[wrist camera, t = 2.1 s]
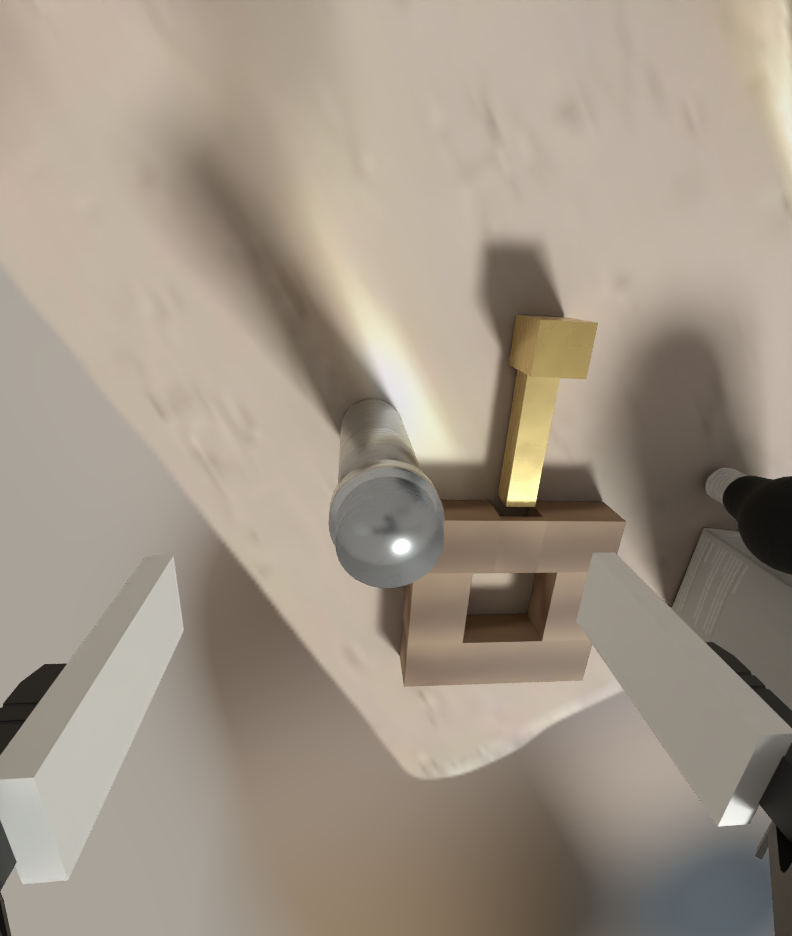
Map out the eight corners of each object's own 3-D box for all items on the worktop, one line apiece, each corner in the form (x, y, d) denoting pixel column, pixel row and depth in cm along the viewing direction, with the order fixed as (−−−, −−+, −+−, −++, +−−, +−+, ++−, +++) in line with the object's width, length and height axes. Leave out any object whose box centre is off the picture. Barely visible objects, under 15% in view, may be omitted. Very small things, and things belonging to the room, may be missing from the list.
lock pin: (516, 314, 28) (540, 319, 24) (566, 317, 28) (598, 323, 25) (489, 494, 32) (506, 521, 29) (533, 495, 33) (555, 521, 29)
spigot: (336, 392, 29) (327, 484, 16) (409, 395, 29) (458, 486, 16) (335, 461, 30) (326, 595, 18) (404, 463, 31) (445, 593, 18)
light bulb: (734, 515, 35) (872, 598, 26) (663, 512, 34) (778, 597, 25) (763, 442, 33) (924, 504, 24) (688, 437, 32) (824, 500, 23)
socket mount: (412, 499, 32) (418, 520, 29) (603, 501, 34) (626, 521, 31) (399, 656, 37) (404, 686, 34) (565, 651, 39) (582, 680, 36)
